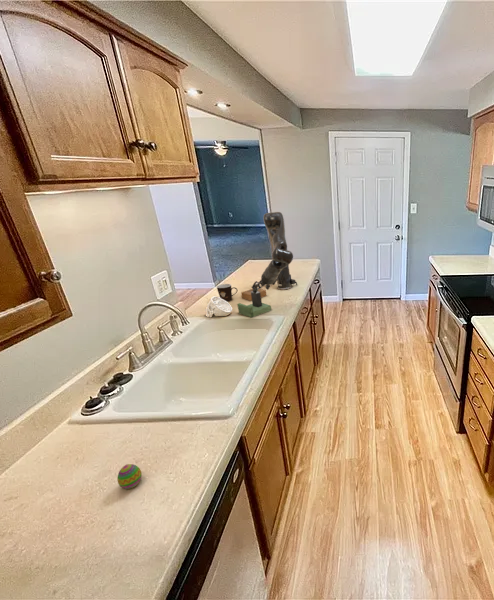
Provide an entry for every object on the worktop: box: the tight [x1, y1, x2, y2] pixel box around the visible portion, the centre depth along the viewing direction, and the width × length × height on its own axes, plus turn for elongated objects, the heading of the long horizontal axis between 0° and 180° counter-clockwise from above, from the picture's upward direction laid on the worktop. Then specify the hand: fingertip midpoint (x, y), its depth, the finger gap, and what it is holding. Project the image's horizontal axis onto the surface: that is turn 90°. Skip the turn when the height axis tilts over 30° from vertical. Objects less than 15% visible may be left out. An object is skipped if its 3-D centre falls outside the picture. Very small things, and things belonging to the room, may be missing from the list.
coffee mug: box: [216, 283, 238, 303], centre depth 213 cm, size 12×9×10 cm
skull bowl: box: [204, 296, 234, 318], centre depth 191 cm, size 10×14×12 cm
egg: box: [117, 463, 143, 490], centre depth 85 cm, size 5×5×6 cm
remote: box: [251, 291, 263, 307], centre depth 196 cm, size 3×5×9 cm, turn 56°
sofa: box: [236, 302, 272, 318], centre depth 196 cm, size 14×12×6 cm
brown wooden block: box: [240, 288, 267, 302], centre depth 221 cm, size 12×10×4 cm
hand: (260, 290), depth 191 cm, fingers open, 8 cm apart
